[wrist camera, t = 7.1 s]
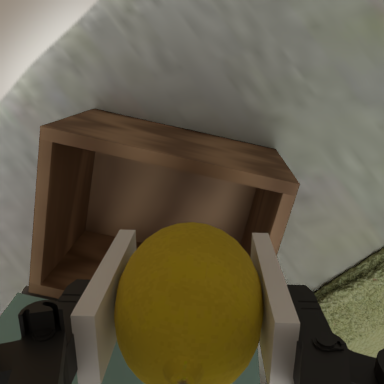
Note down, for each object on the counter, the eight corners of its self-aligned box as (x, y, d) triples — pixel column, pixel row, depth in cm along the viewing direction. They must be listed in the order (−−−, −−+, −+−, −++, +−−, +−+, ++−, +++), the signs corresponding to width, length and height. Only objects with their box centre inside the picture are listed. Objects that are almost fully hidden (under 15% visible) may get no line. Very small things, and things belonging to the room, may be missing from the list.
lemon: (130, 287, 19) (76, 436, 11) (147, 186, 17) (96, 280, 9) (236, 308, 19) (254, 469, 11) (264, 209, 17) (307, 321, 9)
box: (72, 241, 36) (19, 304, 26) (87, 107, 32) (30, 124, 22) (243, 280, 36) (252, 356, 26) (282, 150, 32) (309, 186, 22)
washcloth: (488, 316, 36) (513, 339, 33) (330, 395, 40) (339, 422, 37) (421, 217, 33) (442, 232, 30) (260, 314, 38) (264, 335, 35)
